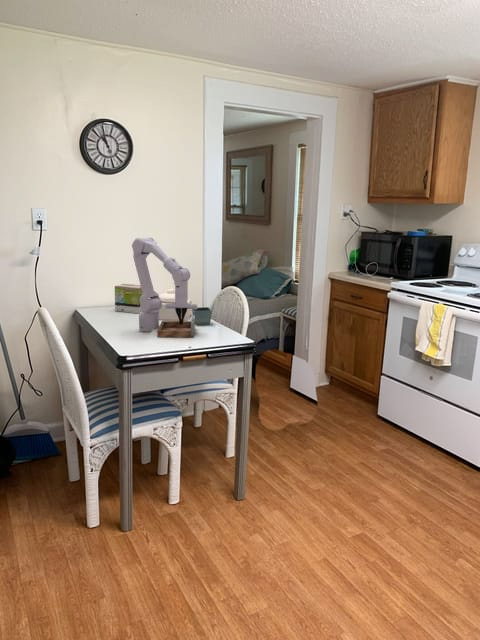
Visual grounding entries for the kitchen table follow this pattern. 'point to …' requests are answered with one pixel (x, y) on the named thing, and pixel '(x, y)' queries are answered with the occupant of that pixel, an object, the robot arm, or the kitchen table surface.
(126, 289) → the tea box
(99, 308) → the kitchen table surface
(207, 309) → the flower pot
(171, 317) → the white lidded container
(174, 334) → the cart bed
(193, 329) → the panel
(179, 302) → the robot arm
